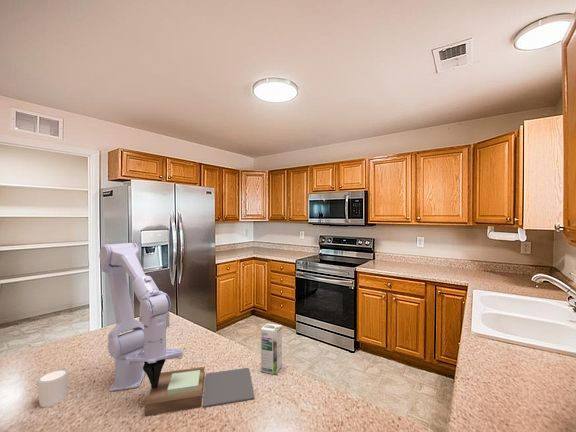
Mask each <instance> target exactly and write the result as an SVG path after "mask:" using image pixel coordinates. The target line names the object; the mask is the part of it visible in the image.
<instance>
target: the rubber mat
mask: <svg viewBox="0 0 576 432" xmlns="http://www.w3.org/2000/svg"><path fill="white" fill-rule="evenodd" d="M254 392H255V391H254V387H253V381H252V376H251V371H250V367H243V368H237V369H228V370H222V371H214V372H207V373H206V374H205V379H204V389H203V400H202V408H203V409H204V408H210V407H216V406H222V405H223V406H224V405H227V404H234V403H240V402H246V401H252V400H255V399H256V398H255V393H254Z"/></svg>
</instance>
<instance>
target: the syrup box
mask: <svg viewBox="0 0 576 432" xmlns="http://www.w3.org/2000/svg"><path fill="white" fill-rule="evenodd" d="M282 326H283V325H282V324H273V323H266V324H264V325H263V326H262V327H261V328H260V372H261V373H266V374H270V375H274V376H275V375H277V374H278V372H279V371H280V370H281V368H282V367H283V332H282V331H283V327H282Z"/></svg>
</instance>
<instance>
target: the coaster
mask: <svg viewBox="0 0 576 432" xmlns="http://www.w3.org/2000/svg"><path fill="white" fill-rule="evenodd" d="M199 380H200V370H197V371H189V372H182V373H174V374H172V377H171V380H170V383H169V386H168V389H167V395H173V394H180V393H186V392H193V391H198V388H199Z"/></svg>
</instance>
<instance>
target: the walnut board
mask: <svg viewBox="0 0 576 432" xmlns="http://www.w3.org/2000/svg"><path fill="white" fill-rule="evenodd" d="M197 370H200V380H199V388H198V391H193V392H186V393H180V394H173V395H167V389H168V386H169V383H170V380H171V377H172V374H174V373H182V372H189V371H197ZM204 386H205V366H201V367H195V368H194V367H191V368H185V369H178V370H170V371H161V373H160V377H159V383H158V386H157V388H153V389H152V388H151V389H150V391H149V393H148V396H147V397H146V400H145V403H144V417H149V416H154V415H160V414H166V413H173V412H179V411H184V410H191V409H196V408H201V407H202V405H203V395H204Z"/></svg>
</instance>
